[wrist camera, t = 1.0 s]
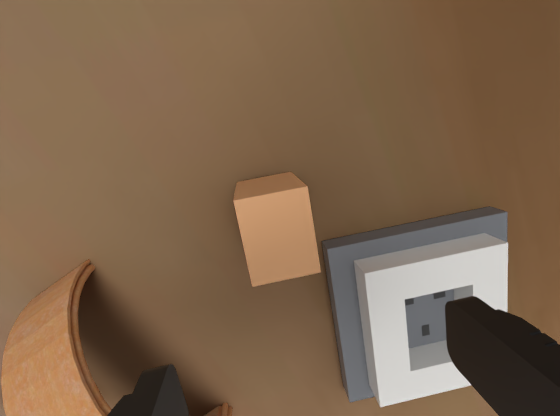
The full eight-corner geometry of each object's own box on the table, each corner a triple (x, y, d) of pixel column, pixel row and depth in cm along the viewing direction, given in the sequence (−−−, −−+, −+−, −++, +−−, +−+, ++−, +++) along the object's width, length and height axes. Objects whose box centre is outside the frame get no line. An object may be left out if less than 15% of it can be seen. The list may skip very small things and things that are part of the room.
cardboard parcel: (289, 170, 26) (307, 186, 18) (299, 232, 27) (321, 272, 20) (237, 180, 26) (233, 200, 18) (250, 242, 27) (252, 286, 19)
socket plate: (489, 206, 29) (533, 219, 24) (490, 351, 33) (527, 384, 28) (321, 241, 28) (335, 261, 23) (343, 385, 32) (358, 426, 27)
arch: (91, 256, 26) (0, 330, 16) (232, 406, 31) (227, 529, 22) (36, 294, 26) (-84, 388, 17) (185, 437, 31) (159, 572, 22)
